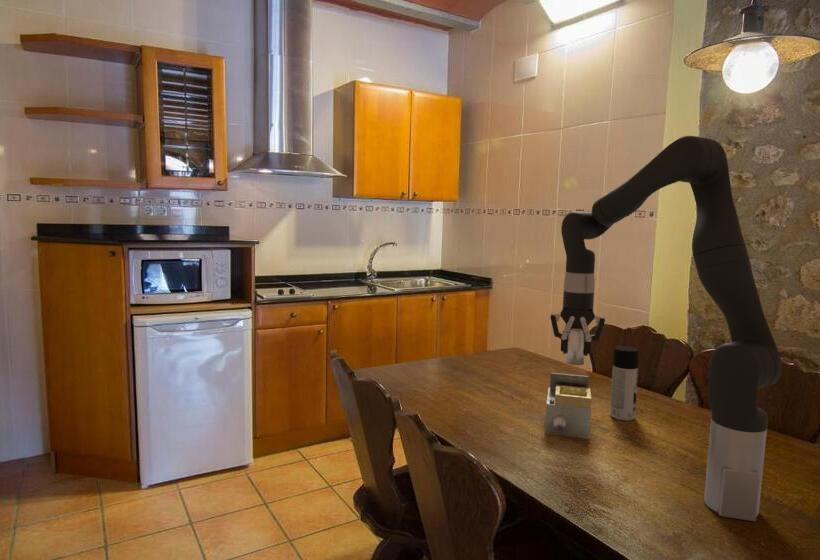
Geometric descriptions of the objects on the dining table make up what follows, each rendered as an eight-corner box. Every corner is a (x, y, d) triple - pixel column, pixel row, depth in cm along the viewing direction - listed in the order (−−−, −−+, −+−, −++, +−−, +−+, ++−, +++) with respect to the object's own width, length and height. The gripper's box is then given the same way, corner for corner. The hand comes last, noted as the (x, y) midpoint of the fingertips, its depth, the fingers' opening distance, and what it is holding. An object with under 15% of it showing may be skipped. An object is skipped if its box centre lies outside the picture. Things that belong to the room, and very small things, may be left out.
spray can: (637, 422, 147) (642, 352, 144) (611, 420, 148) (616, 350, 146) (632, 413, 153) (637, 346, 151) (607, 411, 155) (611, 344, 152)
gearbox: (589, 443, 133) (592, 393, 131) (544, 438, 136) (546, 388, 134) (587, 419, 149) (590, 374, 147) (547, 414, 152) (549, 370, 150)
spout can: (584, 366, 136) (586, 325, 135) (565, 364, 138) (567, 323, 136) (584, 361, 141) (586, 321, 139) (565, 359, 142) (567, 320, 141)
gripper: (549, 290, 135) (546, 355, 137) (609, 293, 131) (605, 360, 133) (550, 286, 142) (547, 348, 144) (607, 289, 138) (603, 353, 140)
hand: (575, 353), depth 139 cm, fingers closed on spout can, 4 cm apart
